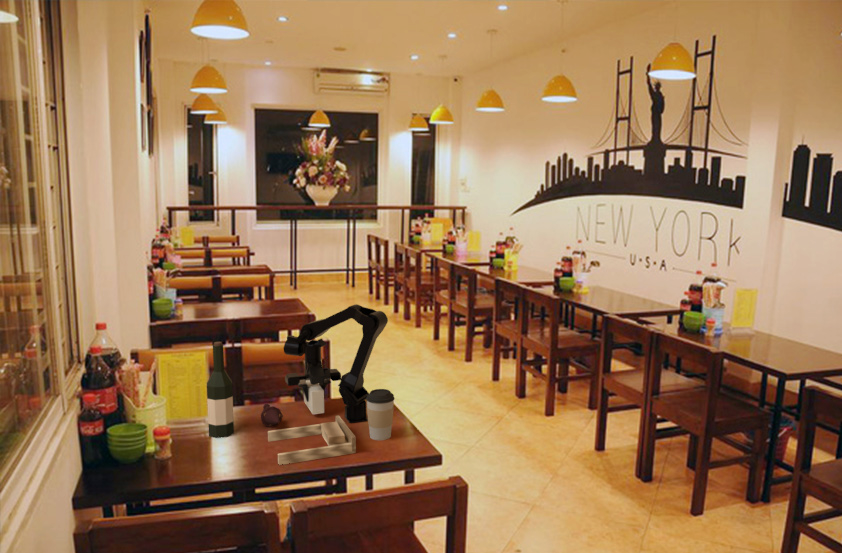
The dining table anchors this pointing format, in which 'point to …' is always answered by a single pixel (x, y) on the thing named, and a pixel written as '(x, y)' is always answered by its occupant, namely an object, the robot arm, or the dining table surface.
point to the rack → (314, 452)
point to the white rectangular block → (315, 398)
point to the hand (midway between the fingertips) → (313, 400)
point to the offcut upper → (332, 433)
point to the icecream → (271, 415)
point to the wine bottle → (220, 397)
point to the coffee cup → (380, 413)
